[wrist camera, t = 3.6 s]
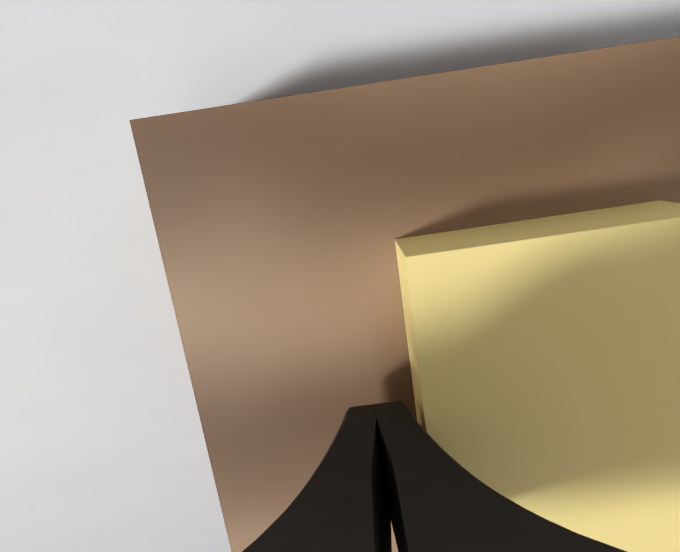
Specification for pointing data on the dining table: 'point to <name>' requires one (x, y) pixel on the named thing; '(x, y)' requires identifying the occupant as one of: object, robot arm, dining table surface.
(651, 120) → the plate
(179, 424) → the dining table surface
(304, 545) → the robot arm
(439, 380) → the yellow block
